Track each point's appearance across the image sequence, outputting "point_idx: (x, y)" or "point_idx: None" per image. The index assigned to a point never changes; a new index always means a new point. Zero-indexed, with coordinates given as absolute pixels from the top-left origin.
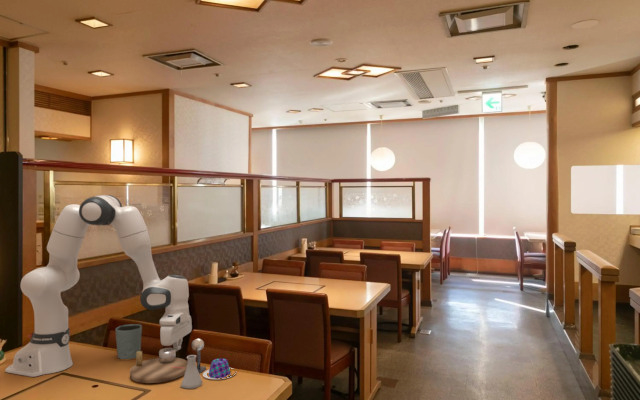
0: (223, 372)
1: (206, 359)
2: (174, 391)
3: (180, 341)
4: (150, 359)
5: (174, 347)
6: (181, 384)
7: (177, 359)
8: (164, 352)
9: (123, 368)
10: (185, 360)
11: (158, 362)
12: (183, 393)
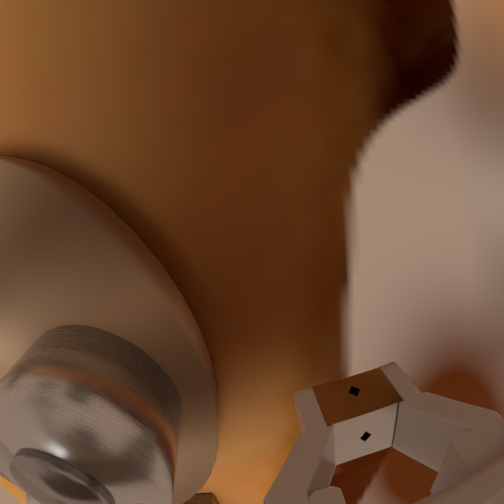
0: None
1: (372, 458)
2: (2, 478)
3: (436, 460)
4: (35, 190)
5: (304, 434)
6: (27, 499)
7: (179, 452)
8: (9, 472)
9: (3, 23)
10: (192, 494)
11: (26, 343)
12: (18, 499)
